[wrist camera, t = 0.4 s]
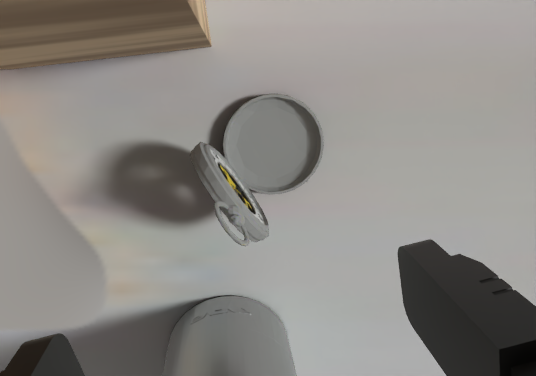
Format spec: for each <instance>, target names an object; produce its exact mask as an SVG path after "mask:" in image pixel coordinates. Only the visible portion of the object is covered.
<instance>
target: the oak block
mask: <svg viewBox="0 0 536 376" xmlns="http://www.w3.org/2000/svg"><path fill="white" fill-rule="evenodd" d="M202 47H211V39H210V32H209V25H208V19H207V12H206V5H205V0H0V69H19V68H27V67H36V66H45V65H54V64H62V63H71V62H80V61H89V60H97V59H106V58H115V57H124V56H132V55H141V54H150V53H159V52H167V51H176V50H185V49H194V48H202Z"/></svg>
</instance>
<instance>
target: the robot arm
mask: <svg viewBox="0 0 536 376" xmlns="http://www.w3.org/2000/svg"><path fill="white" fill-rule="evenodd" d="M398 262H399V270H400V278H401V287H402V295H403V303H404V307H405V311H406V314H407V316H408V319H409V321H410V323H411V325H412V327H413V328H414V330H415V331H416V333H417V334H418V335H419V337H420V338H421V340H422V341H423V343H424V344H425V345H426V347H427V348H428V350H429V351H430V353H431V354H432V355H433V357H434V358H435V360H436V361H437V363H438V364H439V365H440V367H441V368H442V370H443V371H444V373H445V374H446V375H447V376H536V306H534V305H533V304H532V303H531V302H530V301H528V300H527V299H526V298H525V297H523V296H522V295H521V294H520V293H518V292H517V291H516V290H514V291H513V289H512V287H511V286H510V285H509V284H507V283H506V282H505V281H504V280H502V279H499V278H498V276H497V275H496V274H495V273H494V272H492V271H491V270H490V269H489V268H487V267H486V266H485V265H484V264H483V263H481V262H478V261H476V260H473V259H471V258H468V257H466V256H463V255H461V254H458V255H454V256H450V255H449V254H448V253H447V252H446V251H444V250H443V249H442V248H441V247H440V246H439V245H438V244H437V243H435V242H434V241H433V240H430V239H429V240H425V241H421V242H417V243H413V244H409V245H405V246H401V247H399V249H398ZM0 376H85V375H84V373H83V371H82V369H81V367H80V364H79V362H78V360H77V358H76V356H75V354H74V352H73V350H72V348H71V345H70V343H69V341H68V339H67V338H66V337H65V336H64V335H63V334H55V335H51V336H47V337H43V338H39V339H35V340H31V341H27V342H25V343H23V344H22V345H21V346H20V348H19V349H18V351H17V352H16V354H15V355H14V357H13V358H12V360H11V361H10V363H9V364H8V366H7V367H6V369H5V370H4V371H2V372H1V373H0ZM162 376H297V375H296V370H295V366H294V361H293V357H292V353H291V349H290V345H289V341H288V337H287V333H286V330H285V328H284V325H283V323H282V322H281V320H280V319H279V317H278V316H277V315H276V314H275V313H274V312H273V311H272V310H271V309H270V308H269V307H267V306H265V305H264V304H262V303H260V302H258V301H255V300H252V299H249V298H246V297H238V296H225V297H217V298H214V299H210V300H207V301H204V302H202V303H200V304H198V305H196V306H194V307H193V308H192V309H190V310H189V311H188V312H186V313H185V314H184V315H183V316H182V318H181V319H180V320H179V321H178V322H177V324H176V326H175V327H174V329H173V331H172V333H171V337H170V340H169V344H168V349H167V355H166V360H165V365H164V370H163V374H162Z"/></svg>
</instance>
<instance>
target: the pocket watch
mask: <svg viewBox="0 0 536 376" xmlns="http://www.w3.org/2000/svg"><path fill="white" fill-rule="evenodd" d="M323 146H324V142H323V133H322V128H321V126H320V124H319V121H318V120H317V118H316V116H315V114H314V113H313V112H312V111H311V110H310V109H309V108H308V107H307V106H306V105H305V104H304V103H303V102H301V101H299V100H296V99H294V98H292V97H290V96H288V95H281V94H266V95H261V96H258V97H256V98H254V99H251V100H249V101H247V102H245V103H244V104H243V105H242V106H241V107H240V108H239V109H238V110H237V111H235V112H234V114H233V115H232V117H231V119H230V120H229V122H228V124H227V125H226V129H225V133H224V140H223V153H224V157H223V156H222V155H221V154H220V153H219V152H218V151H217V150H216V149H215V148H213V147H212V146H210V145H208V144H205V143H202V142H200V143H199V144H198V145H196V146H195V148H194V149H193V150H192V151H191V154H190V156H191V160H192V163H193V165H194V167H195V170H196V172H197V174H198V175H199V177H200V179H201V181H202V183H203V185H204V186H205V188H206V189H207V191H208V192H209V194H210V195H211V197H212V198H213V200H214V201H215V204H214V208H215V213H216V216H217V218H218V220H219V222H220V224H221V225H222V227H223V228H224V230H225V231H226V232H227V233H228V234H229V236H230V237H231V238H232V239H233V240H234V241H235V242H237V243H238V244H240V245H243V246H247V245H248V244H249V239H250V240H251V241H253V242H258V241H260V240H263V239H265V238H266V237H268V236H269V226H268V222H267V219H266V217H265V215H264V213H263V211H262V209H261V207H260V206H259V204H258V202H257V201H256V199H255V197H254V196H253V194H252V193H251V191H250V190H249V189H251V190H254V191H256V192H259V193H263V194H281V193H285V192H289V191H292V190H294V189H296V188H297V187H299V186H301V185H302V184H304V183H305V182H306V181H307V180H308V179H309V178H310V177H311V176H312V175H313V174H314V172H315V170H316V169H317V167H318V165H319V163H320V160H321V158H322V152H323ZM219 208H220V209H221V210H222V212H223V213H224V214H225V215H226V216H227V217H228V219H229V221H230V222H231V223H232V224H233V225H234V226H235V227H236V228H237V229H238V230H239V231H240V232H241V233H242V234H243V235H244V237H245V239H244V240H241V239H239V238H238V237H237V236H235V235H234V234H233V233H232V232H231V231H230V229H229V228H228V226H227V224H226V223H225V221H224V220H223V218H222V216H221V213H220V209H219Z"/></svg>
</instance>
